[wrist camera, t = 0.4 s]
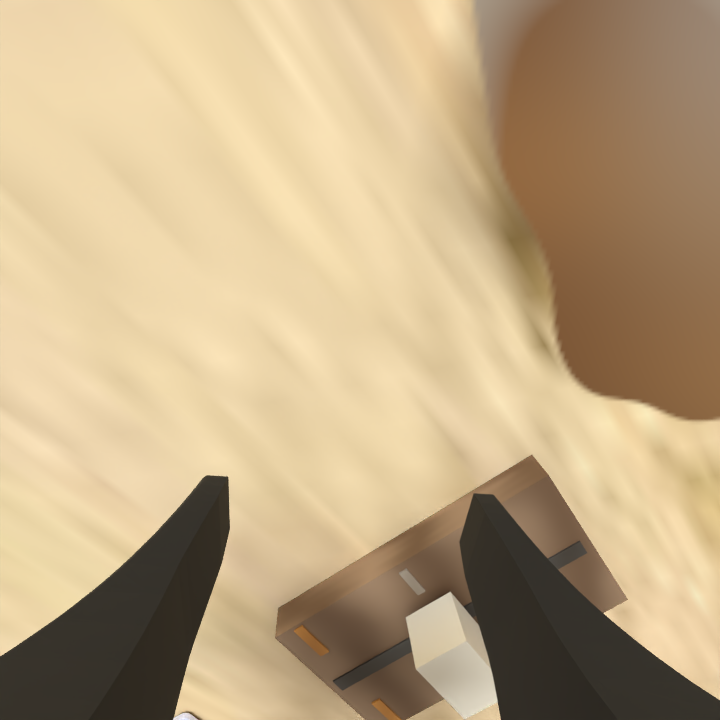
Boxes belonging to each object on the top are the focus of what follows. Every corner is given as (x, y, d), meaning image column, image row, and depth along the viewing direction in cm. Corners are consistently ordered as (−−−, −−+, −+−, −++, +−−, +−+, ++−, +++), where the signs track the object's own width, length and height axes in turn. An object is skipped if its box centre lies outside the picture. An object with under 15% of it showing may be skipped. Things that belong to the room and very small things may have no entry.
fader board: (376, 701, 31) (380, 734, 29) (278, 608, 28) (275, 639, 26) (608, 573, 29) (628, 601, 27) (531, 454, 26) (549, 476, 24)
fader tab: (449, 665, 27) (464, 719, 24) (405, 617, 26) (415, 669, 23) (492, 642, 27) (512, 694, 24) (450, 591, 25) (466, 640, 22)
